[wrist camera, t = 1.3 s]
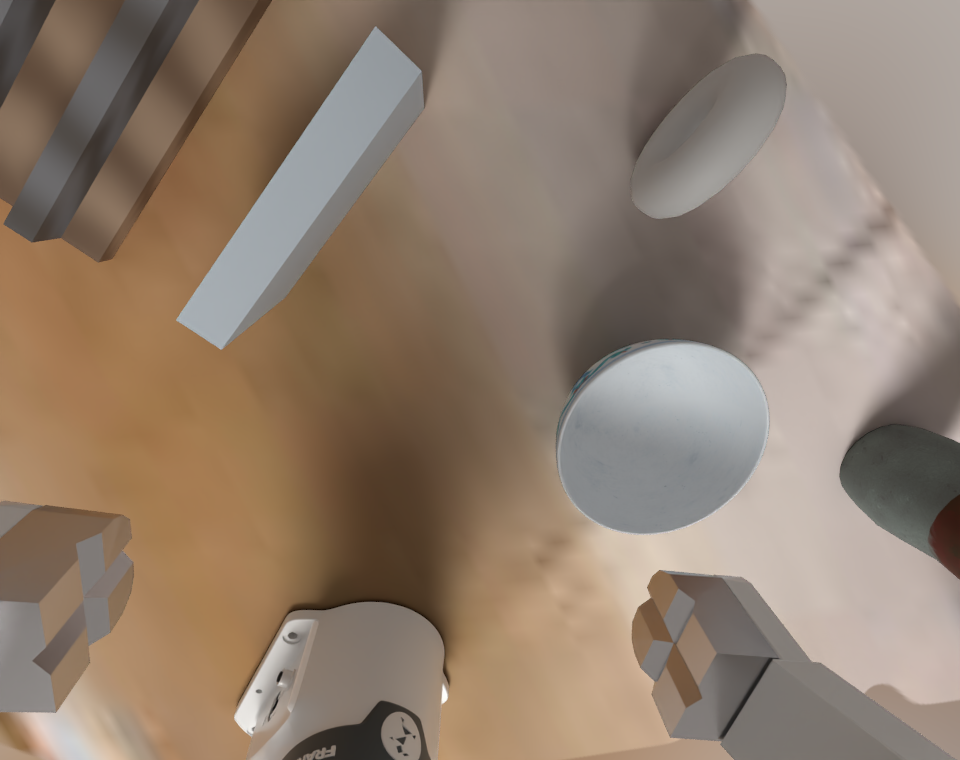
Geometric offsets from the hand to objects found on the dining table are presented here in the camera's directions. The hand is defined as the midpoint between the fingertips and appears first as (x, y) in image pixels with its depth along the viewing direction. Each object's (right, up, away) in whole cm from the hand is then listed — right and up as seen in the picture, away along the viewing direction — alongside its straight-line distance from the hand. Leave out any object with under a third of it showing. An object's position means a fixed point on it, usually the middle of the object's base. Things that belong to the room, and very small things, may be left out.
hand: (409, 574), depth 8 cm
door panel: (-9, +16, +26) cm, 31 cm away
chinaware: (+13, +1, +34) cm, 36 cm away
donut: (+14, +19, +27) cm, 36 cm away
